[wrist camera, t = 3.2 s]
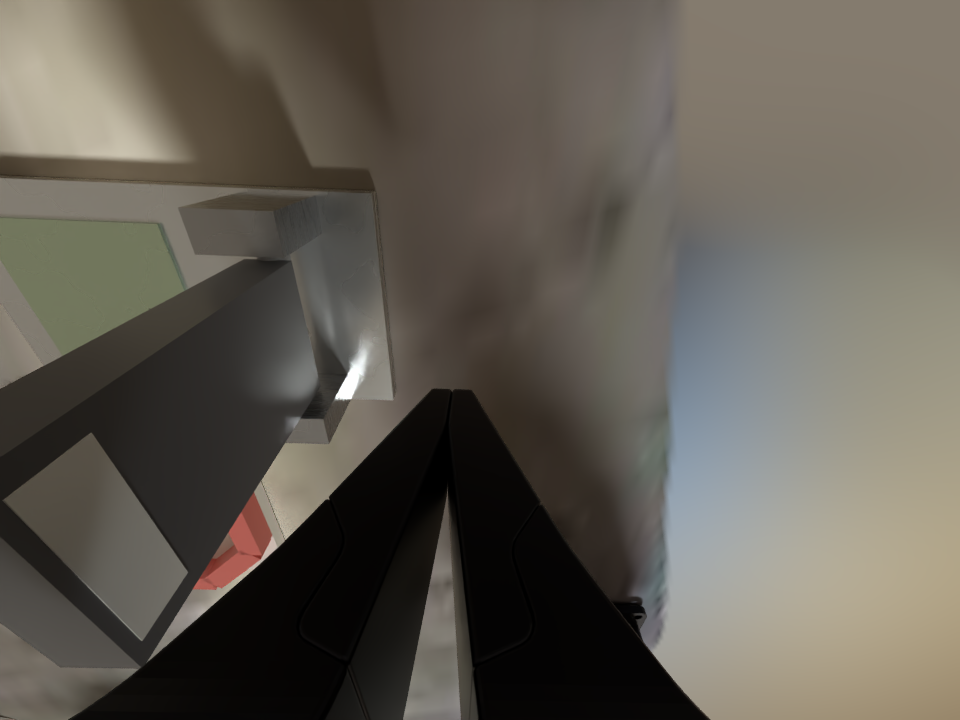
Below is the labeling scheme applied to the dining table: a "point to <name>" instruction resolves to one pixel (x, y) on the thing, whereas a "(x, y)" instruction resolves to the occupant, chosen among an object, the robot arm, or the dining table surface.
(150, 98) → the dining table surface
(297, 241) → the panel
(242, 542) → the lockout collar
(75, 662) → the block
